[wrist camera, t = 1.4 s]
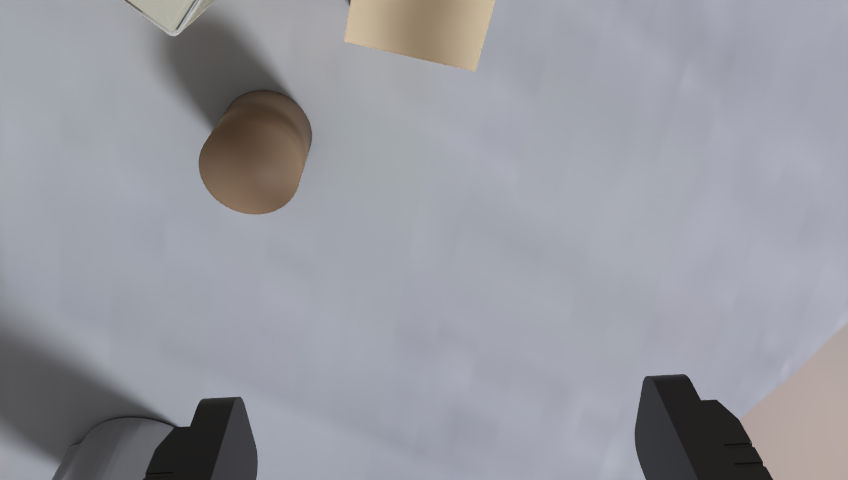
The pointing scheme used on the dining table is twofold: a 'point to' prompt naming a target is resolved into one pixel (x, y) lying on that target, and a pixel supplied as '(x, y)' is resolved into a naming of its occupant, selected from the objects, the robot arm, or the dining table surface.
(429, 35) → the beech cube
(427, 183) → the dining table surface
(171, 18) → the box
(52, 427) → the dining table surface
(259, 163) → the walnut cylinder
